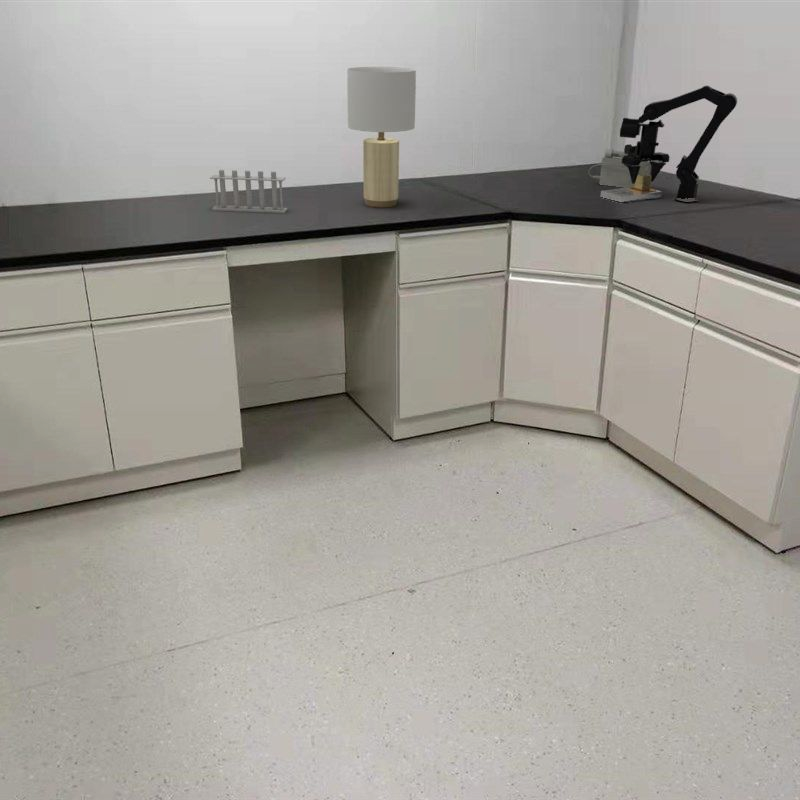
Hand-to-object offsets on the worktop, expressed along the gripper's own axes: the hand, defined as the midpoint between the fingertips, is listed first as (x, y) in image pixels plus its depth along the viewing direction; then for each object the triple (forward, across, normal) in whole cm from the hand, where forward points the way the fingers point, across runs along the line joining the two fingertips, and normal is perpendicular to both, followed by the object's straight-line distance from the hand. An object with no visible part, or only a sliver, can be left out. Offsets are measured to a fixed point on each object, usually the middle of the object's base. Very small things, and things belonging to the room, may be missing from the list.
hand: (642, 182), depth 309 cm
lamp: (+6, +94, -31) cm, 99 cm away
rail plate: (+5, +5, 0) cm, 7 cm away
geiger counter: (+6, -4, -17) cm, 18 cm away
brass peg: (+5, 0, 0) cm, 5 cm away
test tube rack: (+6, +138, -42) cm, 145 cm away
